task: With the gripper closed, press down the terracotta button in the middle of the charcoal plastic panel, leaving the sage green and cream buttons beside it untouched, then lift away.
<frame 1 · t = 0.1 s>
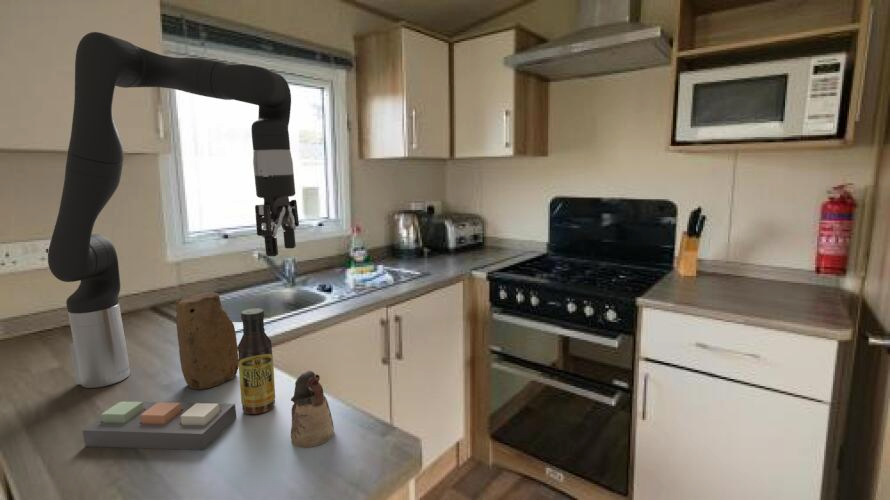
hand: (281, 251, 97), 29 cm above the table, tool pointing down, fingers open, 8 cm apart
button panel: (164, 431, 85), on the table
sauce bottle: (260, 408, 92), on the table
figurine: (313, 437, 82), on the table
cream button: (200, 414, 83), point 3 cm above the table, slide at 0.0 cm
terracotta button: (161, 413, 84), point 3 cm above the table, slide at 0.0 cm
sage button: (123, 412, 85), point 3 cm above the table, slide at 0.0 cm
brown sandstone rock: (213, 381, 104), on the table
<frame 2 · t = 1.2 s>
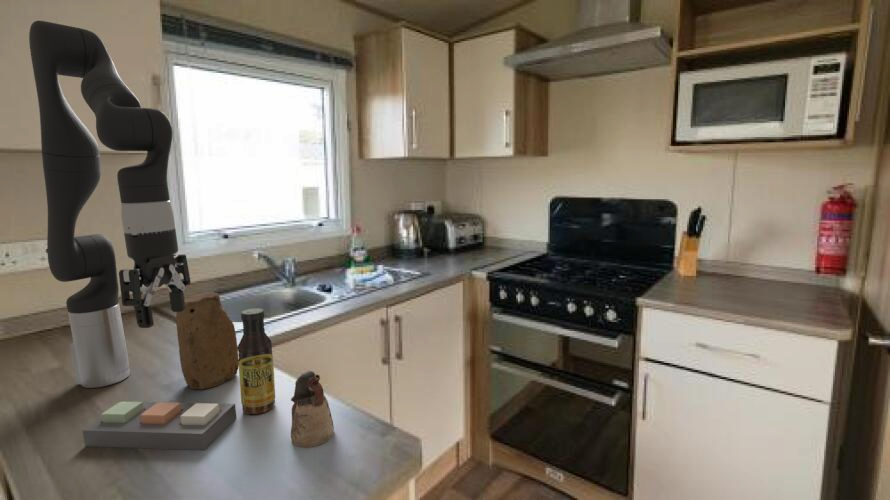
hand: (163, 318, 83), 21 cm above the table, tool pointing down, fingers open, 8 cm apart
nothing on the table moved.
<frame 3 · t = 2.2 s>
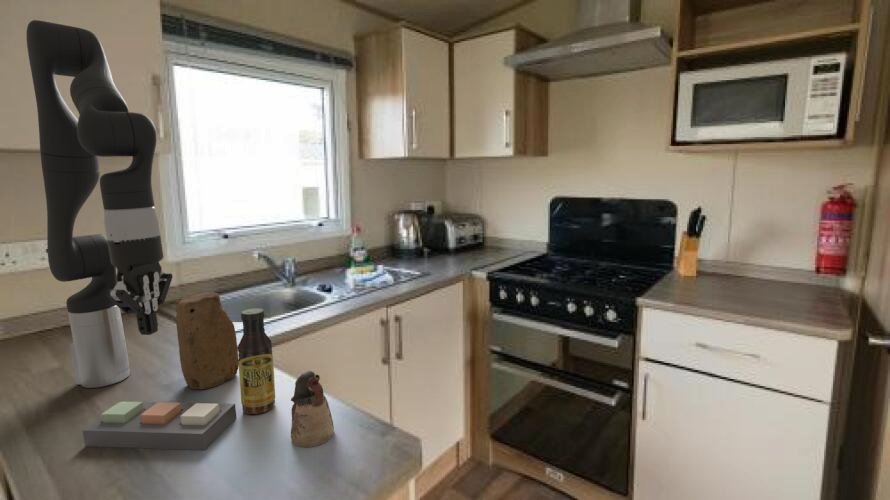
hand: (149, 333, 81), 19 cm above the table, tool pointing down, fingers closed
nothing on the table moved.
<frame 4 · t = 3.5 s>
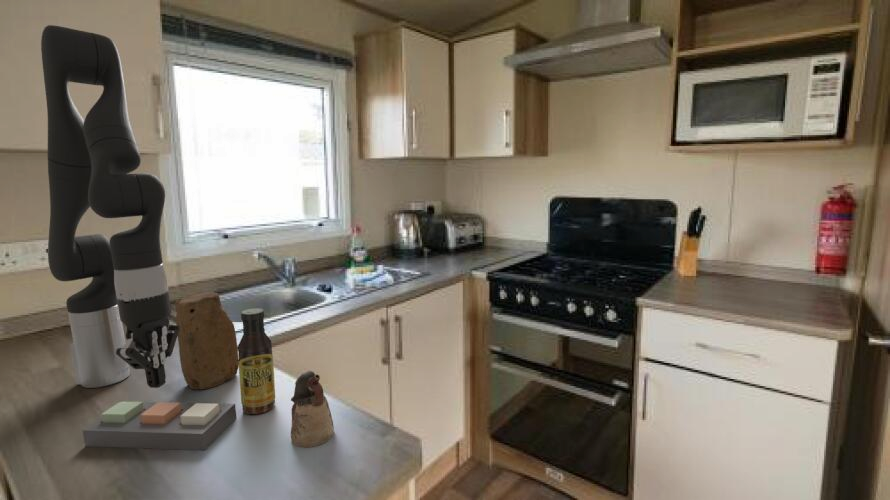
hand: (157, 385, 83), 9 cm above the table, tool pointing down, fingers closed
nothing on the table moved.
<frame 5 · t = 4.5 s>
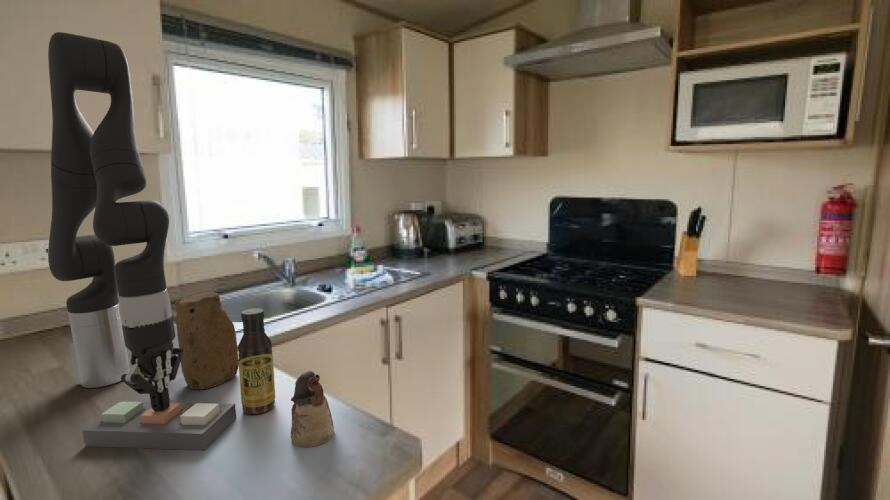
hand: (161, 409, 84), 4 cm above the table, tool pointing down, fingers closed
terracotta button: (161, 414, 84), point 3 cm above the table, slide at 0.1 cm, touching gripper
everything else where it was.
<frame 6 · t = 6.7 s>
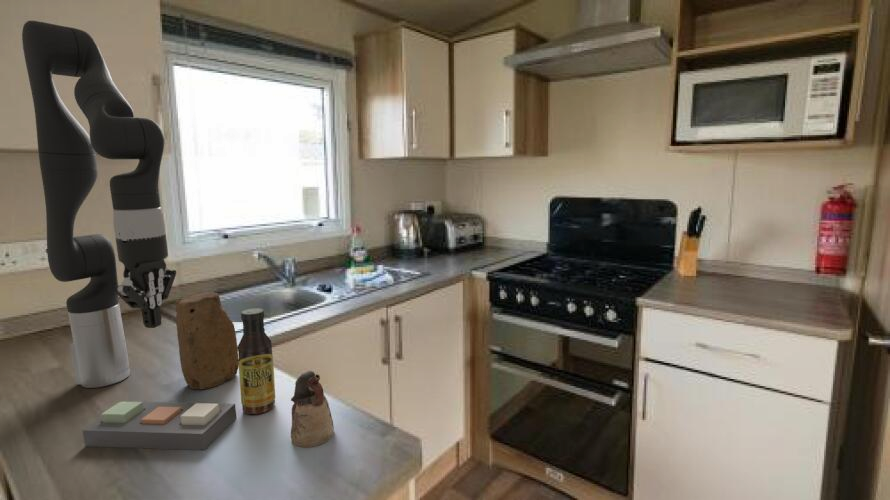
hand: (153, 326, 86), 18 cm above the table, tool pointing down, fingers closed
terracotta button: (162, 418, 84), point 3 cm above the table, slide at 0.8 cm
everything else where it was.
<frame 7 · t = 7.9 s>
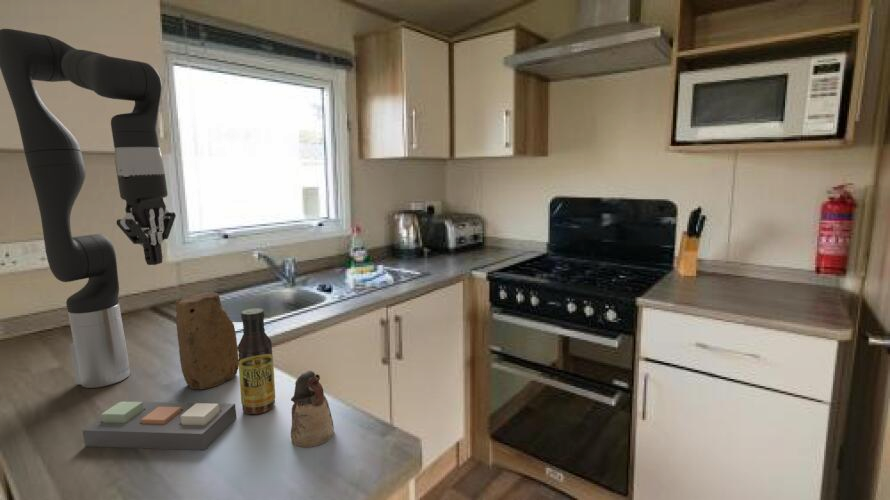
hand: (154, 264, 90), 29 cm above the table, tool pointing down, fingers closed
nothing on the table moved.
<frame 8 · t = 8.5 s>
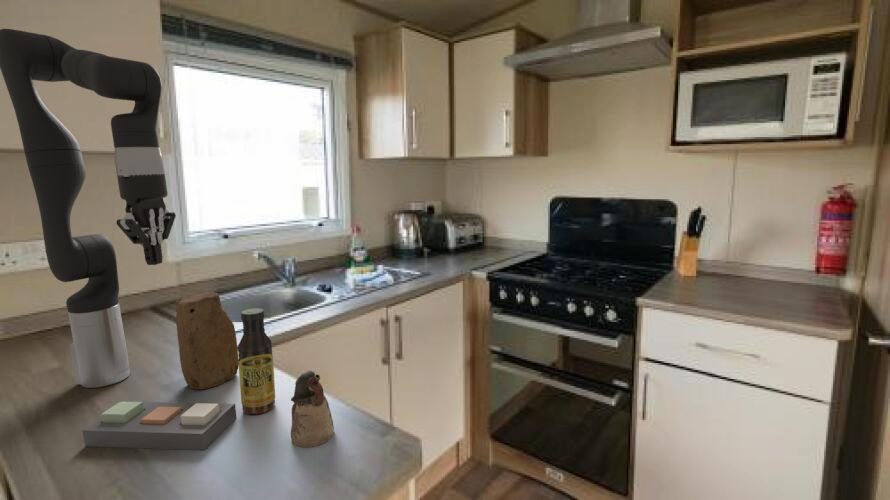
hand: (154, 264, 90), 29 cm above the table, tool pointing down, fingers closed
nothing on the table moved.
at the end: terracotta button slide at 0.8 cm; sage button slide at 0.0 cm; cream button slide at 0.0 cm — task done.
